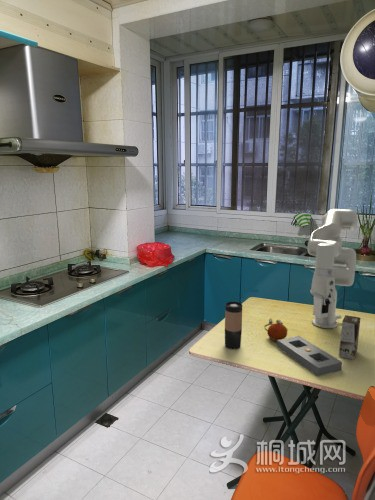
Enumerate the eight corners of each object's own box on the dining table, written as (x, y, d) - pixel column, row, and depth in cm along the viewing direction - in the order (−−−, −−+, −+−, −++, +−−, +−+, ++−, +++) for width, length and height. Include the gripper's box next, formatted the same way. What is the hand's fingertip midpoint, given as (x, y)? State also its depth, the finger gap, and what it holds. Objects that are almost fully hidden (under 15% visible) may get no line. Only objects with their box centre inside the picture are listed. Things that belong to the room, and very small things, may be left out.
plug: (320, 312, 166) (322, 287, 163) (329, 316, 161) (331, 291, 158) (310, 314, 163) (312, 289, 161) (319, 318, 158) (321, 293, 156)
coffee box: (354, 360, 153) (358, 324, 150) (338, 356, 157) (341, 321, 153) (357, 351, 161) (361, 317, 157) (342, 347, 164) (345, 314, 161)
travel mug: (242, 343, 168) (244, 302, 164) (239, 350, 161) (240, 308, 157) (226, 340, 170) (227, 300, 166) (222, 348, 163) (223, 306, 159)
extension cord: (292, 325, 189) (292, 322, 189) (282, 336, 176) (282, 332, 176) (270, 320, 196) (270, 317, 195) (259, 330, 183) (259, 327, 182)
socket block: (298, 342, 169) (298, 334, 168) (341, 369, 146) (342, 361, 145) (277, 347, 164) (277, 339, 164) (318, 376, 141) (318, 367, 140)
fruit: (289, 339, 173) (291, 323, 171) (280, 345, 166) (281, 328, 165) (273, 333, 179) (274, 318, 177) (263, 339, 173) (264, 323, 171)
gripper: (345, 275, 152) (341, 316, 155) (316, 266, 167) (313, 303, 171) (331, 277, 149) (328, 319, 153) (304, 267, 164) (301, 305, 168)
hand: (320, 310), depth 162 cm, fingers closed on plug, 4 cm apart
